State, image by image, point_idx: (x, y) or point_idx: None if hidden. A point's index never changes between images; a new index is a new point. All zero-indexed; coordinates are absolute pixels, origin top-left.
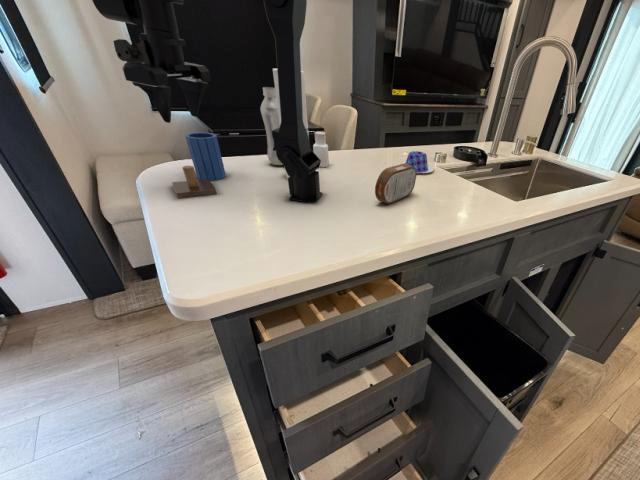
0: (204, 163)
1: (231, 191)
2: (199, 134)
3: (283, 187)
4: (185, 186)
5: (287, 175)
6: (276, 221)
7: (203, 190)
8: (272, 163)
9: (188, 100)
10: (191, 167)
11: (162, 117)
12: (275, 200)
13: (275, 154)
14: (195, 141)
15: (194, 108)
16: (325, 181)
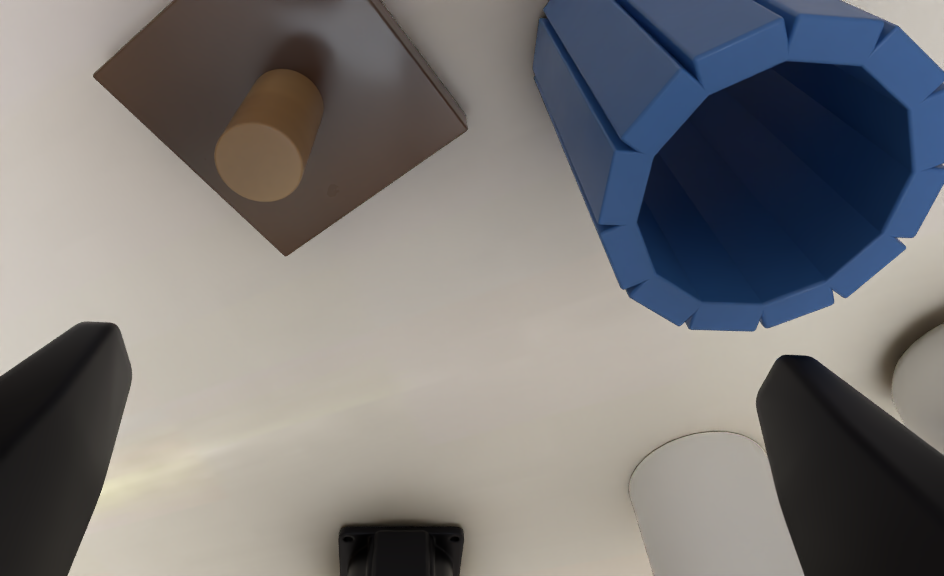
0: (555, 128)
1: (367, 289)
2: (896, 115)
3: (509, 466)
4: (245, 61)
5: (659, 464)
6: (108, 541)
7: (232, 205)
8: (923, 338)
9: (923, 560)
10: (259, 196)
11: (29, 366)
12: (322, 484)
13: (930, 416)
14: (591, 191)
15: (798, 506)
16: (637, 568)
